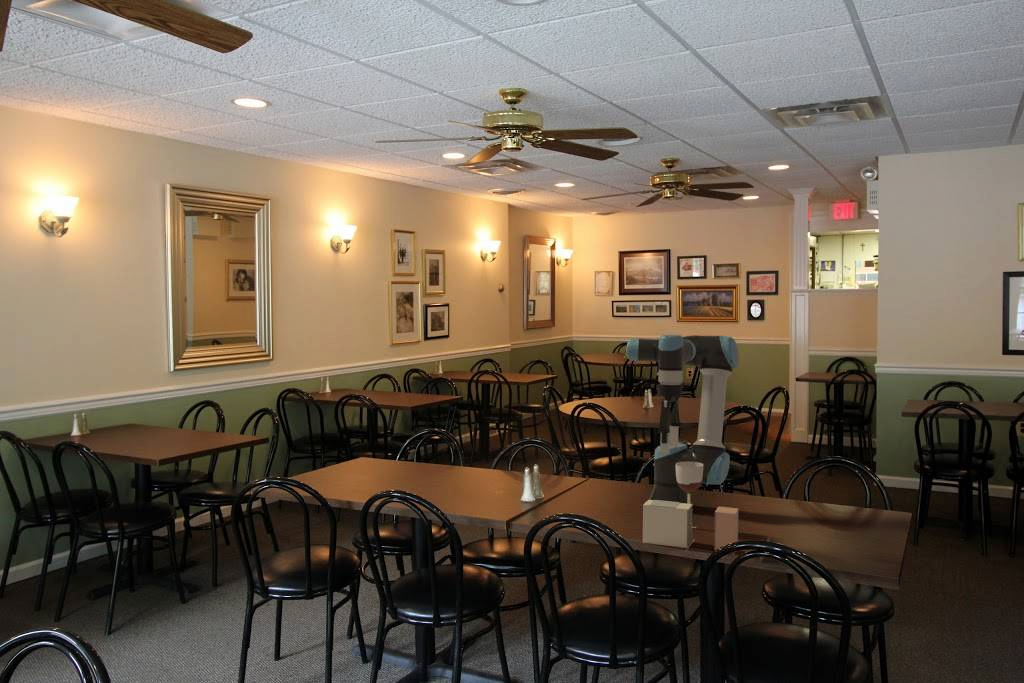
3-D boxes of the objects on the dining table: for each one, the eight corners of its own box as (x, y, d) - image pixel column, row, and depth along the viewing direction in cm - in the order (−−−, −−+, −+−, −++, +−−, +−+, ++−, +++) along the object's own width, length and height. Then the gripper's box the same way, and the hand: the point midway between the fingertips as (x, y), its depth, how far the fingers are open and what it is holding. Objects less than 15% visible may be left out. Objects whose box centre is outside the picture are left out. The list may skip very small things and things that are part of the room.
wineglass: (669, 529, 267) (670, 464, 266) (685, 524, 274) (686, 460, 273) (691, 535, 261) (692, 468, 260) (707, 529, 268) (708, 464, 267)
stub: (717, 544, 249) (718, 506, 248) (737, 547, 246) (738, 508, 246) (714, 551, 242) (714, 511, 242) (734, 553, 240) (735, 514, 239)
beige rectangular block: (647, 536, 257) (648, 499, 257) (691, 541, 252) (692, 503, 251) (642, 542, 251) (643, 504, 250) (687, 548, 245) (688, 509, 245)
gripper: (666, 379, 268) (666, 442, 269) (649, 386, 245) (648, 455, 246) (689, 380, 265) (688, 444, 266) (673, 387, 242) (672, 457, 243)
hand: (669, 449), depth 256 cm, fingers open, 13 cm apart
